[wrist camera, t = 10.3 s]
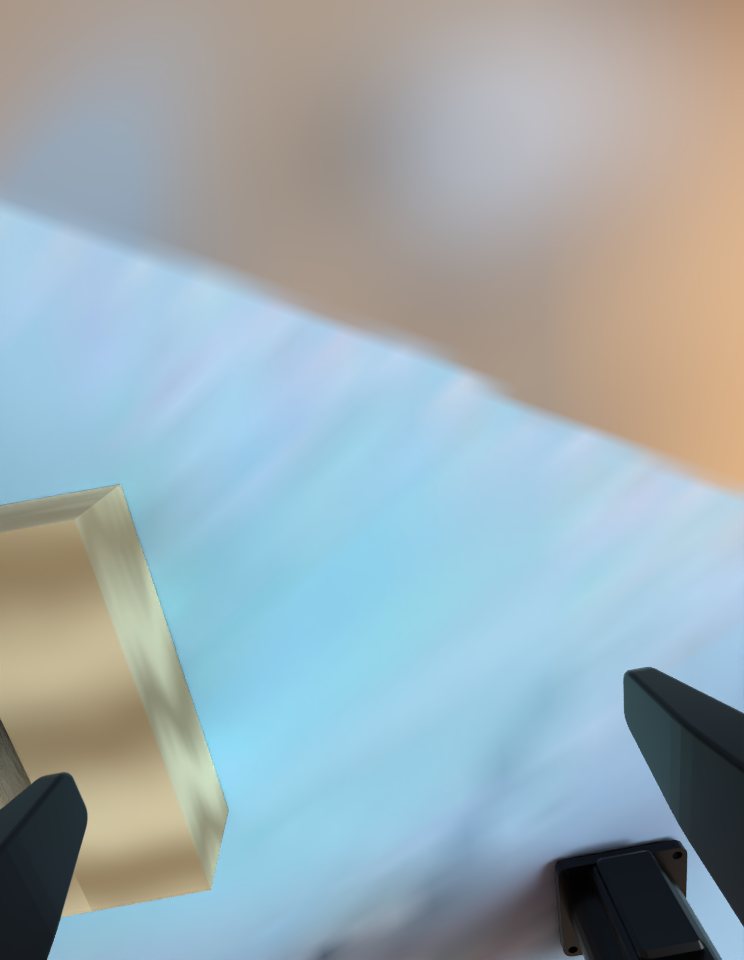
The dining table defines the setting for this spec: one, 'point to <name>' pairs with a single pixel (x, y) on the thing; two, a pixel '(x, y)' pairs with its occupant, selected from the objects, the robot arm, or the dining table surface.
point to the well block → (105, 699)
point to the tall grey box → (10, 770)
